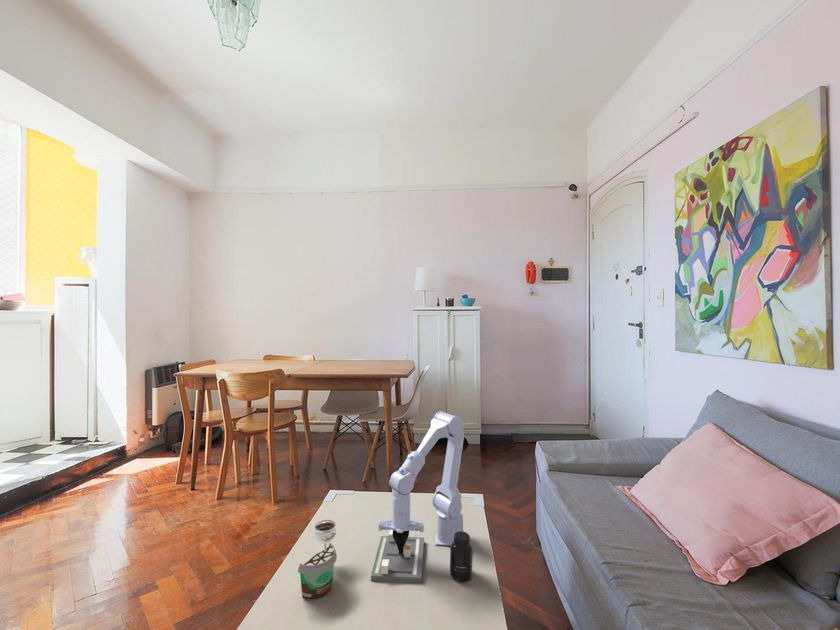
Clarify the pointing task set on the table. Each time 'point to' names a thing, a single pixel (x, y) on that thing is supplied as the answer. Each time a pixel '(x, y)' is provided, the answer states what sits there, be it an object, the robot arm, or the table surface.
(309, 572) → the food container
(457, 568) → the supplement bottle
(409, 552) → the block
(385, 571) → the block
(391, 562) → the panel
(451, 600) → the table surface
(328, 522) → the wineglass
